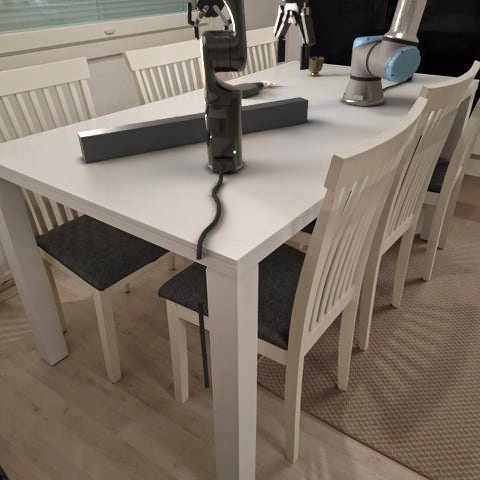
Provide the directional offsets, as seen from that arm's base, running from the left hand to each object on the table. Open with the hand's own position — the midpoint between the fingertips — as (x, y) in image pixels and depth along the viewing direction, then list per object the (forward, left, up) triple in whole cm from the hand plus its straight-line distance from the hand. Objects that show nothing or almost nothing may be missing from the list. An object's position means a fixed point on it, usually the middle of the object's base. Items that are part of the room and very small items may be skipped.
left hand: (211, 39), depth 138 cm
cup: (+72, -40, -26) cm, 87 cm away
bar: (-16, +2, -26) cm, 31 cm away
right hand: (-3, -25, -7) cm, 26 cm away
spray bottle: (+43, -11, -26) cm, 52 cm away
